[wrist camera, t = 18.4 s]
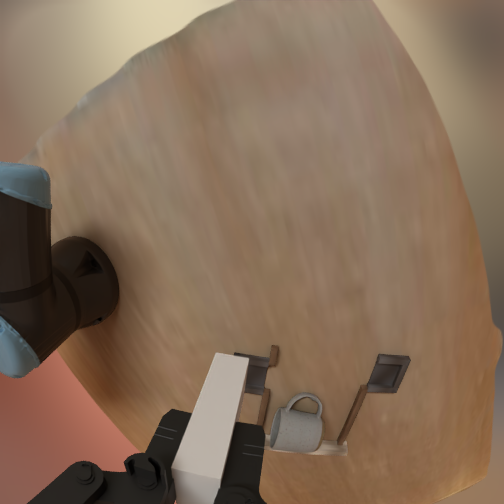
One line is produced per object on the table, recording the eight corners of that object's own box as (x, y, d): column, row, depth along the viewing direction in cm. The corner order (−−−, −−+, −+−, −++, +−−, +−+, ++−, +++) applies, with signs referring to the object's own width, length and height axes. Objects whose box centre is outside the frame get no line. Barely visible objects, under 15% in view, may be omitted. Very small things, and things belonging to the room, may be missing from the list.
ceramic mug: (312, 433, 52) (313, 463, 44) (270, 426, 52) (267, 456, 45) (331, 393, 49) (336, 425, 41) (285, 385, 49) (283, 417, 42)
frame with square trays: (226, 431, 54) (223, 442, 51) (236, 336, 47) (232, 347, 44) (365, 445, 52) (367, 455, 49) (408, 355, 45) (413, 366, 42)
